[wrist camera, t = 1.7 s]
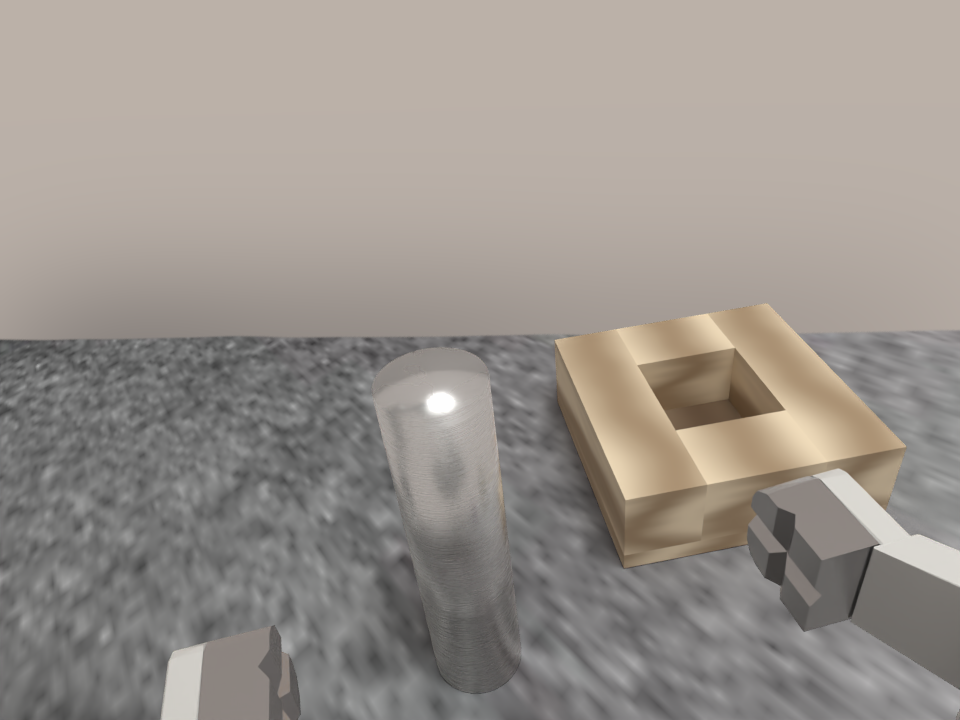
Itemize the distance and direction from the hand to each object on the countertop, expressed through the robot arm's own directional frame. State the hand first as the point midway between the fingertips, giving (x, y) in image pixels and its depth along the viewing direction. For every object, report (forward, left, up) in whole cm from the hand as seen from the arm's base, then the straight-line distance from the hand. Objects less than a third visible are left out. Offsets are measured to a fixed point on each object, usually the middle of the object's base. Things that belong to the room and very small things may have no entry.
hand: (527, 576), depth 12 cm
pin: (-1, +12, -21) cm, 24 cm away
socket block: (+14, +22, -20) cm, 33 cm away
